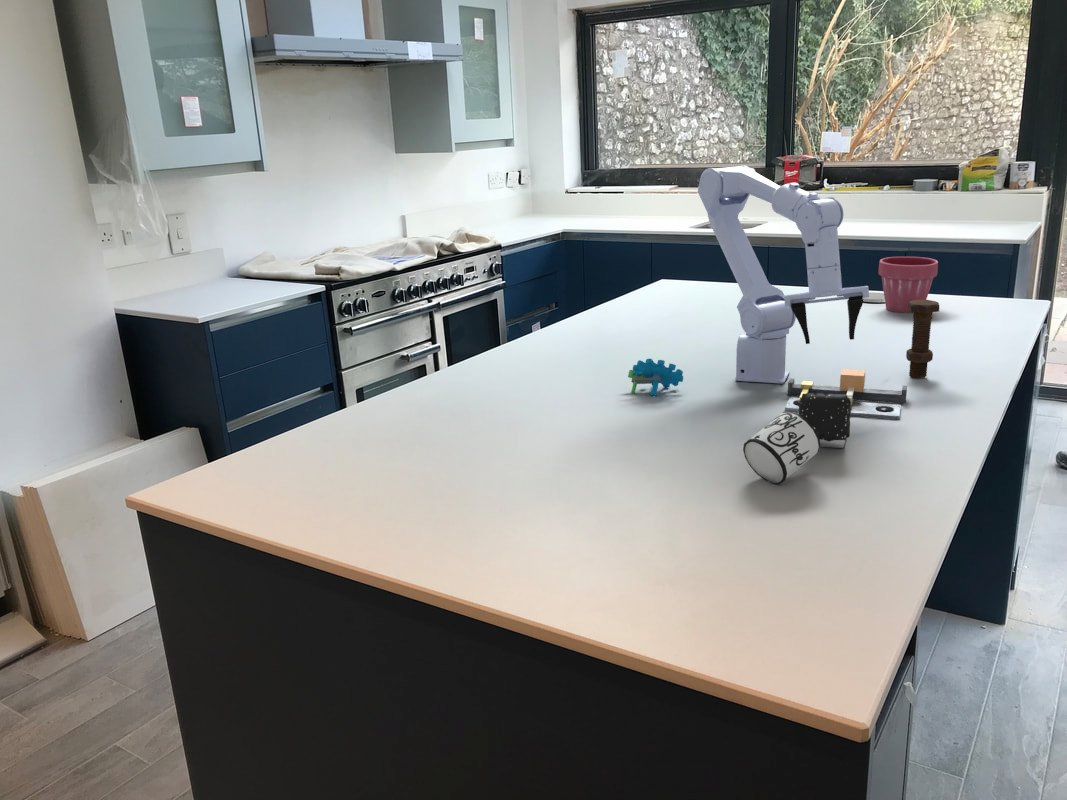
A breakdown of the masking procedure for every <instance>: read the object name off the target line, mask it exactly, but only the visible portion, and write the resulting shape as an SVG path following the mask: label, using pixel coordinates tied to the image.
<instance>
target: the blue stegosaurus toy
mask: <svg viewBox="0 0 1067 800" xmlns="http://www.w3.org/2000/svg"><path fill="white" fill-rule="evenodd" d="M665 363H666V362H665V360H663V359H658V360H657V362H655V361H654V360H653V359H652V358H647V359H645V361H643V360H641V359H640V360H637V363H636V364H633V366H632V369H630V370H629V371H628V375H627V377H628V378H629V379H631V381H630V382H631V383H632V387H631V391H630V392H631V394H635V393H636V389H637V386H638V385H649V384H651V386H652V387H651V391H650V396H651V397H653V396H655V397H656V396H657V393H658V387H659V384H661V385H662V386H663V388H666V387H667V388H670V386H672V385H673V386H674V387H677V386H679V383H683V381H684V375H683V374H684V371H683V370H682V369H680V368H678V369H676V366H677V365H676V364H674V363H669V364H668V367H667V366H665Z"/></svg>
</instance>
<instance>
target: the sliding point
mask: <svg viewBox="0 0 1067 800" xmlns="http://www.w3.org/2000/svg"><path fill="white" fill-rule="evenodd" d="M839 378H840V379H839V387H840V390H841V391H847V394H846V395H847V396H848V397H849V399H850V400H851V405H852V402H853V400H852V398H853V393H854V391H856V392H863V389H865V384H866V383H865V382H866V381H865V380H866V369H852V368H851V369H850V368H849V369H848V368H842V369H841V372H840V377H839Z"/></svg>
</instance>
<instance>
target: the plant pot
mask: <svg viewBox="0 0 1067 800" xmlns="http://www.w3.org/2000/svg"><path fill="white" fill-rule="evenodd" d="M878 263H879V264H878V275H879V276H881V282H882V290H883V296H884V302H885V309H886V310H888V311H890V312H895V313H896V312H897V313H912V312H911V311H910V310H909V309H908V303H909V302H910V301H913V300H928V296H929V293H930V290H931V286H932V283H933V279H934V278H935V277H937V275H938V272H939V271H938V269H939V261H938V260H937V259H934V258H930V257H921V256H889V257H884V258H881V259H880V260H879V262H878Z"/></svg>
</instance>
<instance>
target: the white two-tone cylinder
mask: <svg viewBox="0 0 1067 800" xmlns="http://www.w3.org/2000/svg"><path fill="white" fill-rule="evenodd" d="M850 413H851V400H850V399H849V397H848V396H847V395H842V394H828V395H826V396H825V395H824V394H821V393H817V395H815V394H812V393H806V394H803V395H802V397H801V398H800V401H799V412H794V411H785V410H784V411H782V412H781V413H780V414H779V415H778V416H776V417H775V418H774V419H773V420H771V421H770V422H768V423H767V424H766V425H765V426H763V428H761V429H760V430H759V431H757V432H756V433H755V434H754V435H752V436H751V437H750V438H749V439H747V441H746V442H744V443H743V447H742V451H743V455H744V458H745V460H746V462H747V464H748V465H749V467H750V468H751V469H752V470H753V472H754V473H755V474H756V475H757V476H759V477H760V478H761V479H762V480H763V481H765V482H768V483H770V484H772V485H780V484H782V483H783V482H785V481H786V480H787V479H788V478H789V477H791V476H792V475H793V474H794V473H796V471H797V470H799V469H800V468H801V467H802V466H803V465H805V464H806V463H807V462H808V461H809V460H811V459H812V458H813V457H814V456H816V454H818V453H819V452H820V450H821V449H820V448H833V449H834V448H837V449H845V447H846V443H847V440H848V438H850V435H851V434H850V433H851V416H850Z"/></svg>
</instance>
